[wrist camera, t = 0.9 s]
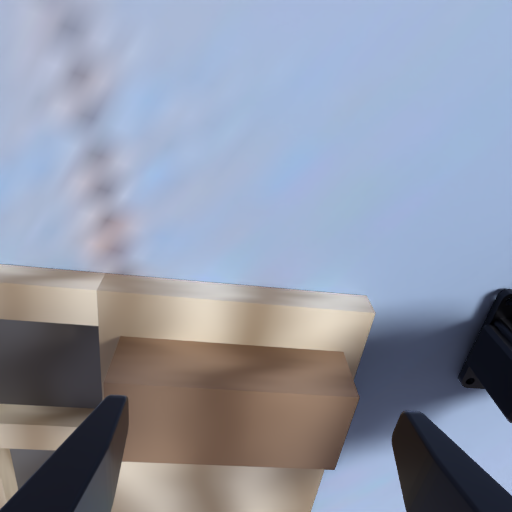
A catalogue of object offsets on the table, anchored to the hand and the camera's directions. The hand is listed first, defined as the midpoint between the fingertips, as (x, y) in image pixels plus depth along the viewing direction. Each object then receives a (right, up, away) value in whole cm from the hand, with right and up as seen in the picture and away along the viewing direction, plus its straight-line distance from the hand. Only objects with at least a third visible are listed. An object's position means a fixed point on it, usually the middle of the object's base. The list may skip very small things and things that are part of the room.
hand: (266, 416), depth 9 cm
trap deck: (-6, -7, +16) cm, 18 cm away
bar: (-2, -3, +12) cm, 13 cm away
